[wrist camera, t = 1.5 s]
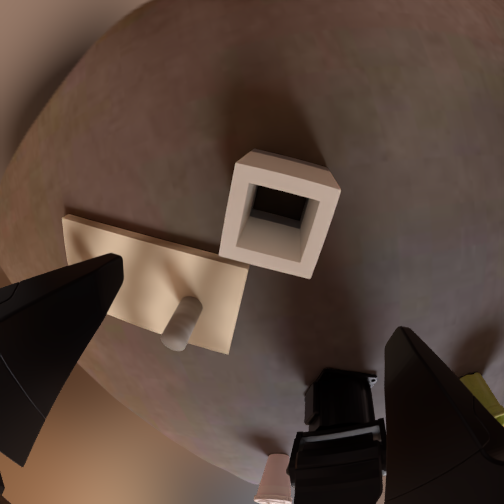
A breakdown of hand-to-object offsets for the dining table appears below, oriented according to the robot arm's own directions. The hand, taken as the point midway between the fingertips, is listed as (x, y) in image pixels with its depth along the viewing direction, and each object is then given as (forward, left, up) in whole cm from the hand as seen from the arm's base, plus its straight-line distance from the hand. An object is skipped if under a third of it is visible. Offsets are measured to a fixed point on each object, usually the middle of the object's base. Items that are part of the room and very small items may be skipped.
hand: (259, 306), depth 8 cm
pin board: (+10, +11, -12) cm, 19 cm away
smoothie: (-12, +44, -12) cm, 47 cm away
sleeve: (0, 0, -12) cm, 12 cm away
